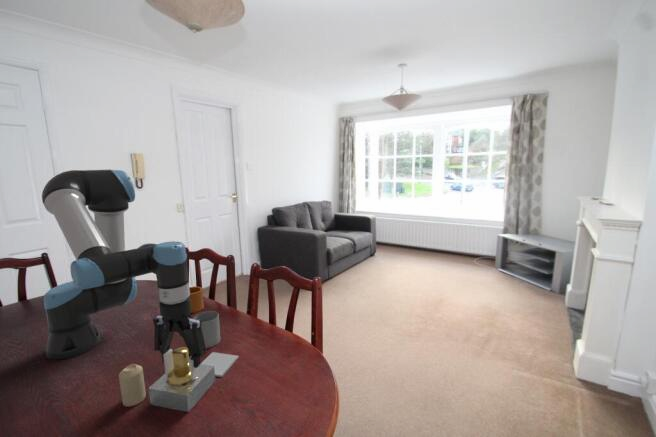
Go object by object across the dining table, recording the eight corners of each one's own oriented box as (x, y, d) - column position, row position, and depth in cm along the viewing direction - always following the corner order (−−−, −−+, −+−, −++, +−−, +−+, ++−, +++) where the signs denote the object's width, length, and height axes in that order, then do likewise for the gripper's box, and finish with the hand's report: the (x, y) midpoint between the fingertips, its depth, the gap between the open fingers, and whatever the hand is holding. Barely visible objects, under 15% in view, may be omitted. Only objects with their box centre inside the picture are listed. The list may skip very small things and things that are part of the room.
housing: (150, 404, 82) (148, 388, 81) (181, 375, 94) (179, 360, 93) (188, 412, 79) (186, 395, 79) (215, 381, 91) (214, 366, 90)
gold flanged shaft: (163, 399, 84) (158, 357, 82) (182, 380, 91) (178, 341, 89) (187, 403, 82) (182, 361, 80) (204, 384, 89) (200, 344, 87)
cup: (211, 349, 107) (209, 323, 105) (191, 346, 109) (188, 321, 107) (224, 336, 115) (222, 312, 114) (205, 334, 117) (203, 310, 115)
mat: (193, 372, 95) (193, 370, 95) (212, 353, 104) (212, 352, 104) (222, 377, 93) (221, 375, 92) (238, 357, 102) (238, 355, 102)
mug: (191, 301, 146) (190, 283, 145) (207, 307, 140) (206, 288, 139) (174, 308, 139) (172, 289, 137) (190, 314, 133) (189, 295, 131)
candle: (129, 392, 87) (125, 361, 85) (149, 391, 87) (145, 360, 85) (118, 407, 81) (113, 374, 80) (139, 406, 82) (135, 372, 80)
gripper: (132, 301, 80) (141, 378, 84) (199, 308, 76) (206, 389, 80) (153, 290, 88) (162, 361, 91) (216, 296, 83) (222, 370, 87)
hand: (182, 374), depth 86 cm, fingers closed on gold flanged shaft, 8 cm apart
